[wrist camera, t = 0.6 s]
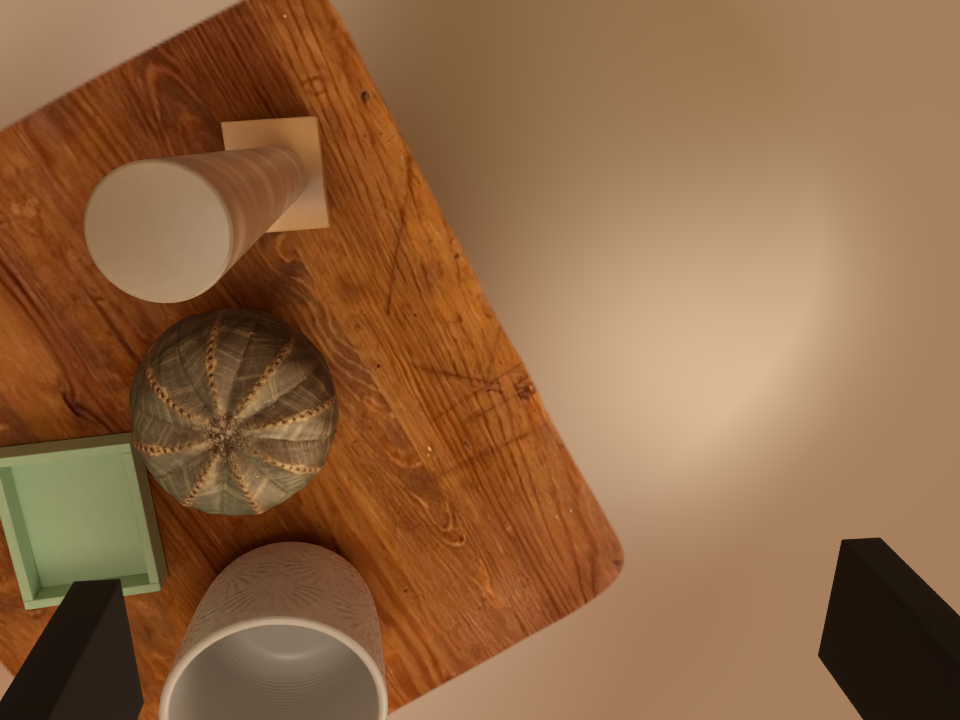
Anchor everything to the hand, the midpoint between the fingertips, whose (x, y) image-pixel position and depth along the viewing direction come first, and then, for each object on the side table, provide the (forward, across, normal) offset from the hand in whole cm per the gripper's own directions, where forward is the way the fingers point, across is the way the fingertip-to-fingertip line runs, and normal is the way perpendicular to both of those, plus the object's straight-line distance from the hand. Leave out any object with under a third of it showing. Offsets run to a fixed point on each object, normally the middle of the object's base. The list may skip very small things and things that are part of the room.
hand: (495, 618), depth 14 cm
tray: (+34, -22, -18) cm, 44 cm away
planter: (+34, -10, -25) cm, 43 cm away
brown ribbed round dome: (+35, -11, -9) cm, 38 cm away
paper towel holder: (+36, -8, +3) cm, 37 cm away
